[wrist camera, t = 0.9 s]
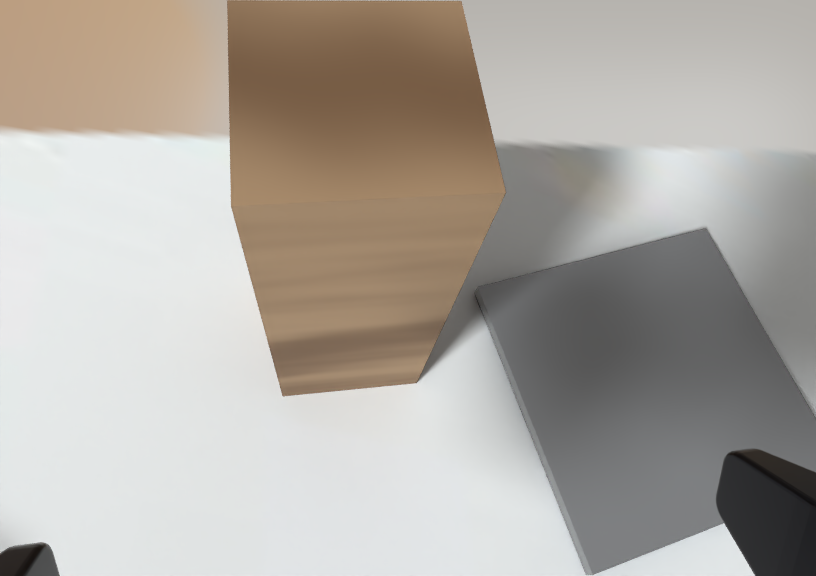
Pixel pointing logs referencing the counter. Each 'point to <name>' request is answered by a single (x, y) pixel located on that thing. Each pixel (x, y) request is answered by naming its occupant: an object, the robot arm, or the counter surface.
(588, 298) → the coaster
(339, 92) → the block
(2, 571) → the robot arm
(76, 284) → the counter surface
